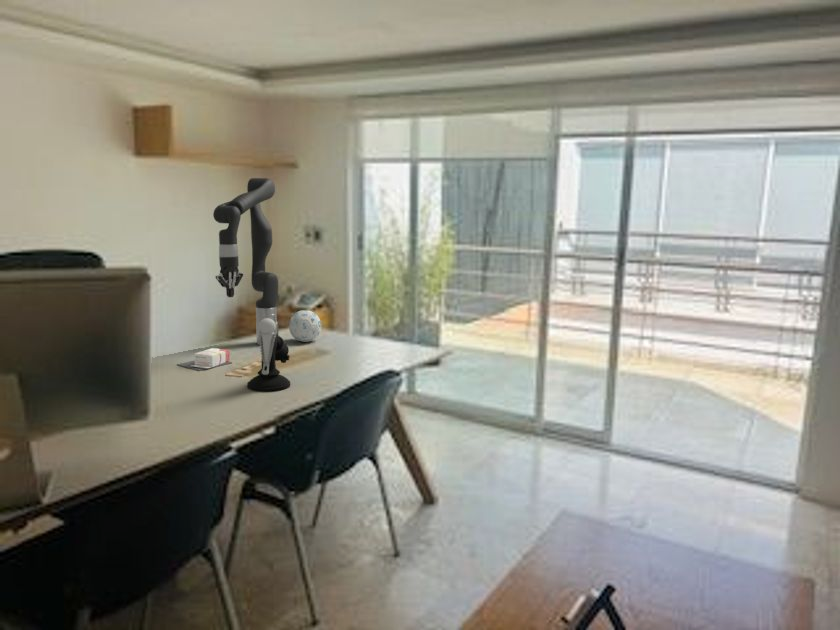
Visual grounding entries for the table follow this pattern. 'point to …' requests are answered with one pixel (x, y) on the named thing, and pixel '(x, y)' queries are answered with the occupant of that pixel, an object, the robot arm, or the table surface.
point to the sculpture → (270, 360)
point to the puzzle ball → (305, 326)
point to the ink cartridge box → (211, 358)
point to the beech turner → (244, 370)
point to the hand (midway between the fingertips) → (230, 296)
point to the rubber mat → (188, 365)
